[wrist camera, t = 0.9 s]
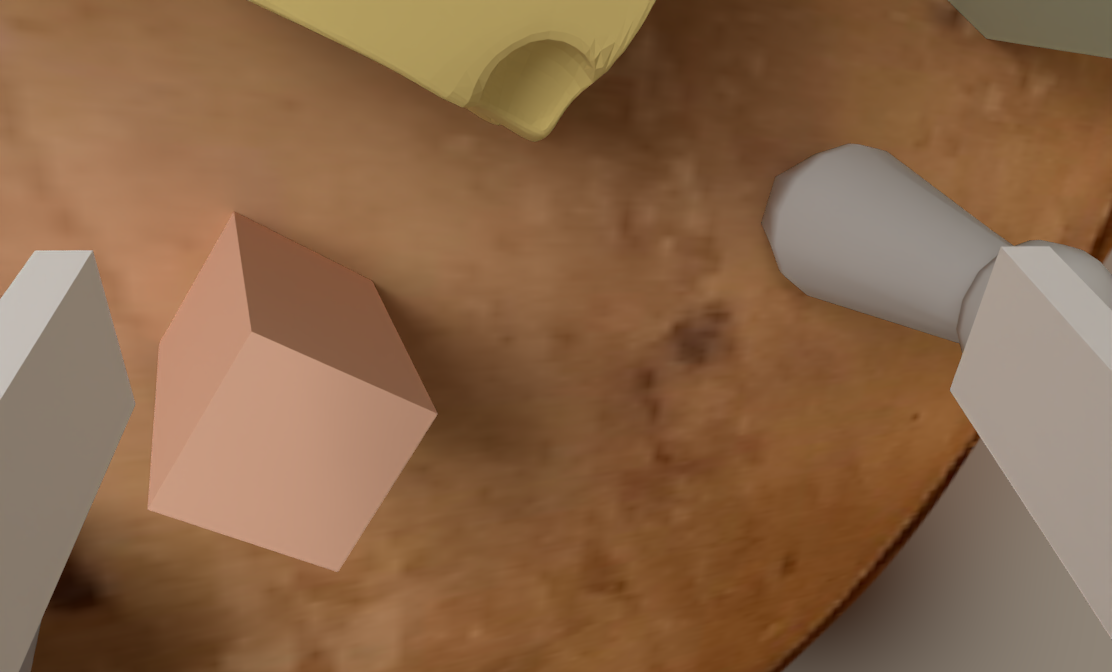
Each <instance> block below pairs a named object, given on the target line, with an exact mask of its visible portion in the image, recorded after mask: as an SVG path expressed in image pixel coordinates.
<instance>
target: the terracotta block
mask: <svg viewBox="0 0 1112 672" xmlns="http://www.w3.org/2000/svg"><path fill="white" fill-rule="evenodd" d="M437 414H438V413H437V411H436V409H435V407H434V405H433V403H432V401H431V399H430V397H429V395H428V393H427V391H426V389H425V387H424V385H423V383H422V381H421V379H420V377H419V375H418V373H417V371H416V369H415V367H414V365H413V363H412V361H411V359H410V357H409V355H408V353H407V351H406V348H405V346H404V344H403V342H402V340H401V338H400V336H399V334H398V332H397V330H396V328H395V326H394V324H393V322H392V320H391V318H390V316H389V314H388V312H387V310H386V308H385V306H384V304H383V302H382V300H381V298H380V296H379V294H378V292H377V290H376V288H375V286H374V284H373V282H372V280H370V279H368V278H366V277H364V276H362V275H360V274H358V273H356V272H354V271H352V270H350V269H348V268H346V267H344V266H342V265H340V264H338V263H336V262H334V261H332V260H330V259H328V258H326V257H324V256H322V255H320V254H318V253H316V252H314V251H312V250H310V249H308V248H306V247H304V246H302V245H300V244H298V243H296V242H294V241H292V240H290V239H288V238H286V237H284V236H282V235H280V234H278V233H276V232H274V231H272V230H270V229H268V228H266V227H264V226H262V225H260V224H258V223H256V222H254V221H252V220H250V219H248V218H246V217H244V216H242V215H240V214H238V213H236V212H233V214H232V215H231V217H230V219H229V221H228V222H227V224H226V226H225V228H224V230H223V231H222V233H221V235H220V237H219V238H218V240H217V242H216V244H215V245H214V247H213V249H212V251H211V253H210V254H209V256H208V258H207V260H206V261H205V263H204V265H203V267H202V268H201V270H200V272H199V274H198V275H197V277H196V279H195V281H194V283H193V284H192V286H191V288H190V290H189V291H188V293H187V295H186V297H185V298H184V300H183V302H182V304H181V306H180V307H179V309H178V311H177V313H176V314H175V316H174V318H173V320H172V321H171V323H170V325H169V327H168V328H167V330H166V332H165V334H164V336H163V337H162V339H161V341H160V343H159V355H158V369H157V383H156V397H155V411H154V426H153V440H152V454H151V468H150V482H149V497H148V510H151V511H154V512H157V513H160V514H163V515H166V516H169V517H172V518H175V519H178V520H181V521H184V522H187V523H190V524H193V525H196V526H199V527H202V528H205V529H208V530H211V531H214V532H217V533H220V534H224V535H227V536H230V537H233V538H236V539H239V540H242V541H245V542H248V543H251V544H254V545H257V546H260V547H263V548H266V549H269V550H272V551H275V552H278V553H281V554H284V555H287V556H290V557H293V558H296V559H299V560H303V561H306V562H309V563H312V564H315V565H318V566H321V567H324V568H327V569H330V570H333V571H336V572H338V571H339V569H340V568H341V566H342V565H343V563H344V562H345V560H346V558H347V557H348V555H349V554H350V552H351V550H352V549H353V547H354V546H355V544H356V543H357V541H358V539H359V538H360V536H361V535H362V533H363V531H364V530H365V528H366V527H367V525H368V524H369V522H370V520H371V519H372V517H373V516H374V514H375V512H376V511H377V509H378V508H379V506H380V505H381V503H382V501H383V500H384V498H385V497H386V495H387V493H388V492H389V490H390V489H391V487H392V486H393V484H394V482H395V481H396V479H397V478H398V476H399V475H400V473H401V471H402V470H403V468H404V467H405V465H406V463H407V462H408V460H409V459H410V457H411V456H412V454H413V452H414V451H415V449H416V448H417V446H418V444H419V443H420V441H421V440H422V438H423V437H424V435H425V433H426V432H427V430H428V429H429V427H430V425H431V424H432V422H433V421H434V419H435V418H436V416H437Z"/></svg>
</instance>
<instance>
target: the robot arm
mask: <svg viewBox="0 0 1112 672" xmlns="http://www.w3.org/2000/svg"><path fill="white" fill-rule="evenodd" d="M950 391H951V393H952V394H953V396H954V397H955V399H956V401H957V402H958V404H959V405H960V407H961V408H962V410H963V411H964V413H965V414H966V416H967V417H968V419H969V421H970V422H971V424H972V425H973V427H974V428H975V430H976V431H977V433H978V434H979V436H980V438H981V439H982V441H983V442H984V444H985V445H986V447H987V448H988V450H989V451H990V453H991V454H992V456H993V457H994V459H995V461H996V462H997V464H998V465H999V467H1000V468H1001V470H1002V471H1003V473H1004V474H1005V476H1006V478H1007V479H1008V481H1009V482H1010V484H1011V485H1012V487H1013V488H1014V490H1015V491H1016V493H1017V494H1018V496H1019V498H1020V499H1021V501H1022V502H1023V504H1024V505H1025V507H1026V508H1027V510H1028V511H1029V513H1030V515H1031V516H1032V518H1033V519H1034V521H1035V522H1036V524H1037V525H1038V527H1039V528H1040V530H1041V531H1042V533H1043V534H1044V536H1045V538H1046V539H1047V541H1048V542H1049V544H1050V545H1051V547H1052V548H1053V550H1054V551H1055V553H1056V555H1057V556H1058V558H1059V559H1060V561H1061V562H1062V564H1063V565H1064V567H1065V568H1066V570H1067V572H1068V573H1069V575H1070V576H1071V578H1072V579H1073V581H1074V582H1075V584H1076V585H1077V587H1078V588H1079V590H1080V591H1081V593H1082V595H1083V596H1084V598H1085V599H1086V601H1087V602H1088V604H1089V605H1090V607H1091V608H1092V610H1093V612H1094V613H1095V615H1096V616H1097V618H1098V619H1099V621H1100V622H1101V624H1102V625H1103V627H1104V628H1105V630H1106V632H1107V633H1108V635H1109V636H1110V638H1111V639H1112V310H1111V309H1110V308H1109V307H1108V306H1107V305H1106V304H1105V303H1104V302H1103V301H1102V300H1101V299H1100V298H1099V297H1098V296H1097V295H1096V294H1095V293H1094V292H1093V291H1092V290H1091V289H1090V288H1089V287H1088V286H1087V284H1086V283H1085V282H1084V281H1083V280H1082V279H1081V278H1080V277H1079V276H1078V275H1077V274H1076V273H1075V272H1074V271H1073V270H1072V269H1071V268H1070V267H1069V266H1068V265H1067V264H1066V263H1065V262H1064V261H1063V260H1062V259H1061V258H1060V257H1059V256H1058V255H1057V254H1056V253H1055V252H1054V251H1053V249H1052V248H1051V247H1050V246H1014V247H1000V250H999V253H998V256H997V259H996V261H995V264H994V267H993V270H992V273H991V275H990V278H989V281H988V284H987V287H986V290H985V292H984V295H983V298H982V301H981V304H980V306H979V309H978V312H977V315H976V318H975V320H974V323H973V326H972V329H971V332H970V335H969V337H968V340H967V343H966V346H965V349H964V351H963V354H962V357H961V360H960V363H959V365H958V368H957V371H956V374H955V377H954V380H953V382H952V385H951V388H950ZM134 407H135V401H134V397H133V393H132V390H131V386H130V383H129V379H128V375H127V372H126V368H125V365H124V361H123V357H122V354H121V350H120V347H119V343H118V339H117V336H116V332H115V329H114V325H113V322H112V318H111V314H110V311H109V307H108V304H107V300H106V296H105V293H104V289H103V286H102V282H101V278H100V275H99V271H98V268H97V264H96V260H95V257H94V253H93V250H68V251H34V253H33V254H32V256H31V257H30V258H29V260H28V261H27V263H26V264H25V265H24V267H23V268H22V270H21V271H20V272H19V274H18V275H17V277H16V278H15V279H14V281H13V282H12V284H11V285H10V286H9V288H8V289H7V291H6V292H5V293H4V295H3V296H2V298H1V299H0V672H19V670H20V668H21V665H22V663H23V661H24V658H25V656H26V654H27V652H28V649H29V647H30V645H31V642H32V640H33V638H34V636H35V633H36V631H37V629H38V626H39V624H40V622H41V619H42V617H43V615H44V613H45V610H46V608H47V606H48V603H49V601H50V599H51V597H52V594H53V592H54V590H55V587H56V585H57V583H58V581H59V578H60V576H61V574H62V571H63V569H64V567H65V565H66V562H67V560H68V558H69V555H70V553H71V551H72V549H73V546H74V544H75V542H76V539H77V537H78V535H79V532H80V530H81V528H82V526H83V523H84V521H85V519H86V516H87V514H88V512H89V510H90V507H91V505H92V503H93V500H94V498H95V496H96V494H97V491H98V489H99V487H100V484H101V482H102V480H103V478H104V475H105V473H106V471H107V468H108V466H109V464H110V461H111V459H112V457H113V455H114V452H115V450H116V448H117V445H118V443H119V441H120V439H121V436H122V434H123V432H124V429H125V427H126V425H127V423H128V420H129V418H130V416H131V413H132V411H133V409H134Z"/></svg>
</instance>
